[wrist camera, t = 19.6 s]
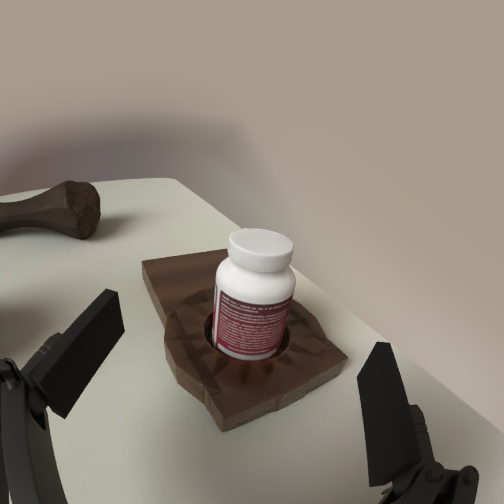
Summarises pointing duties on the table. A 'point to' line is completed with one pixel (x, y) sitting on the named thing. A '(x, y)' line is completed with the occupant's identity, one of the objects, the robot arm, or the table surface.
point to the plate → (225, 369)
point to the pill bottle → (253, 295)
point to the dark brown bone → (56, 210)
